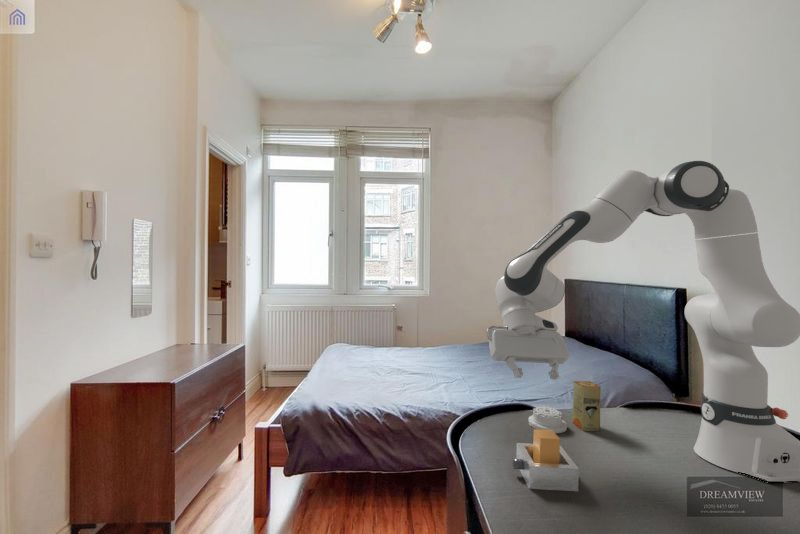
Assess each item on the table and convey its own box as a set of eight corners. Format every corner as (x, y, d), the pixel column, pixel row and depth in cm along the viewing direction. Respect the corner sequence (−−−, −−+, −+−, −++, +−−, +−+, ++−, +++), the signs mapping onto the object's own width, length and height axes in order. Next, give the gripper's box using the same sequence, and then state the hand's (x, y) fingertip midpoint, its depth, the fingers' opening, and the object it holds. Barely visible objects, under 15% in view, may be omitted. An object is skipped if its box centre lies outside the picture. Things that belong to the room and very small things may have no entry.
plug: (551, 471, 78) (552, 430, 78) (558, 482, 74) (559, 438, 74) (532, 470, 79) (533, 429, 79) (539, 481, 75) (540, 438, 75)
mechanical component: (529, 431, 98) (569, 436, 95) (530, 415, 98) (569, 420, 95) (527, 417, 108) (563, 421, 105) (527, 402, 108) (563, 406, 105)
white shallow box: (559, 464, 81) (560, 444, 81) (578, 491, 71) (578, 468, 71) (507, 462, 82) (507, 442, 82) (518, 488, 72) (519, 465, 72)
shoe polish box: (572, 422, 104) (573, 381, 104) (589, 422, 104) (590, 381, 104) (582, 430, 99) (583, 387, 99) (599, 430, 99) (600, 387, 99)
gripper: (489, 318, 92) (502, 369, 83) (562, 323, 95) (581, 373, 86) (480, 331, 96) (491, 381, 87) (550, 336, 100) (568, 384, 91)
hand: (537, 377), depth 87 cm, fingers open, 8 cm apart
